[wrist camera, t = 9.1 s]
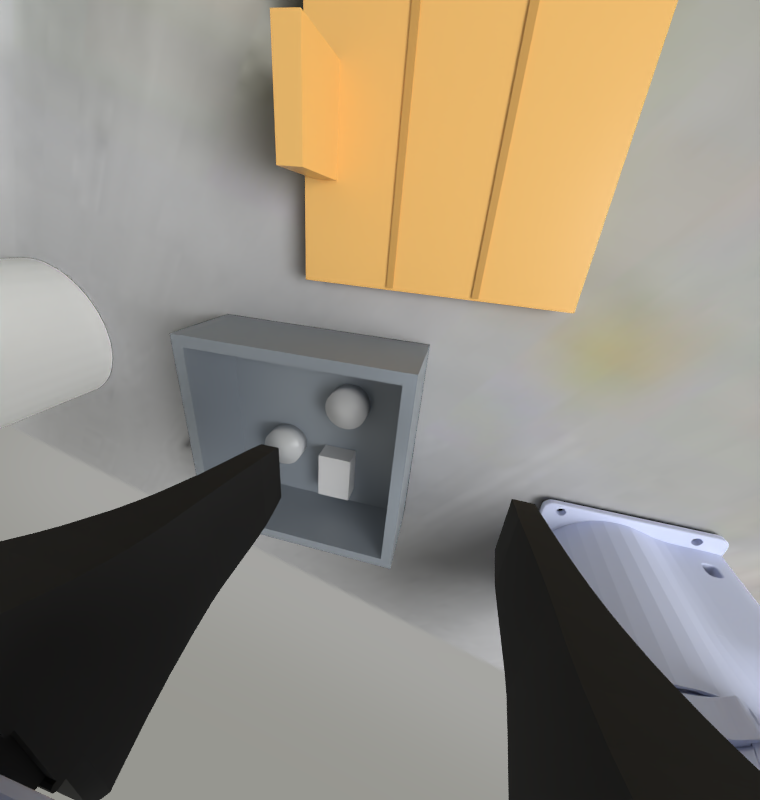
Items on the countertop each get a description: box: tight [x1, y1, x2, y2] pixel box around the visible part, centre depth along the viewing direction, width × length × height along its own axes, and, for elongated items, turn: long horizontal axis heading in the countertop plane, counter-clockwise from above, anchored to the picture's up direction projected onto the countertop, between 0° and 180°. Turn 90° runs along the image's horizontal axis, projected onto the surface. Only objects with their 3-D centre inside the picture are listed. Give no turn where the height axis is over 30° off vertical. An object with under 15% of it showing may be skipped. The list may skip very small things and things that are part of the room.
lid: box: [270, 0, 678, 313], centre depth 13 cm, size 13×13×5 cm
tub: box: [170, 314, 430, 569], centre depth 20 cm, size 12×12×4 cm
